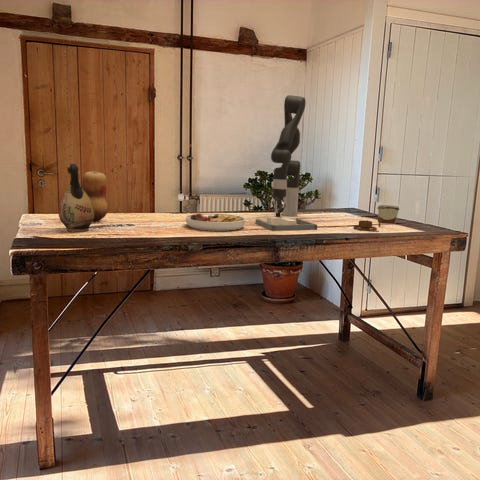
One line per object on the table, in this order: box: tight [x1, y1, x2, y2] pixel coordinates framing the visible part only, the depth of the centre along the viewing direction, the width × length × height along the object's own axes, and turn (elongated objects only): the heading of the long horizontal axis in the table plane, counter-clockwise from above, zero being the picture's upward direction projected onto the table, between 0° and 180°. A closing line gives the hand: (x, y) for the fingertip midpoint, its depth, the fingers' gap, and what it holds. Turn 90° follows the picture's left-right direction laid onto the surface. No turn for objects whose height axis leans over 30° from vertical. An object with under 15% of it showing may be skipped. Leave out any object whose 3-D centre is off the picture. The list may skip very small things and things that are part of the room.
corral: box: [255, 217, 318, 232], centre depth 249 cm, size 22×25×2 cm
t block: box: [266, 216, 298, 225], centre depth 250 cm, size 14×15×4 cm
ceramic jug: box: [57, 163, 95, 233], centre depth 213 cm, size 17×15×30 cm
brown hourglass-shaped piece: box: [81, 171, 108, 222], centre depth 240 cm, size 14×13×25 cm
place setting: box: [353, 217, 382, 233], centre depth 252 cm, size 18×20×6 cm
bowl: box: [185, 212, 247, 232], centre depth 240 cm, size 30×30×8 cm
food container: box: [377, 204, 400, 225], centre depth 277 cm, size 12×6×10 cm, turn 84°
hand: (277, 219), depth 258 cm, fingers closed
